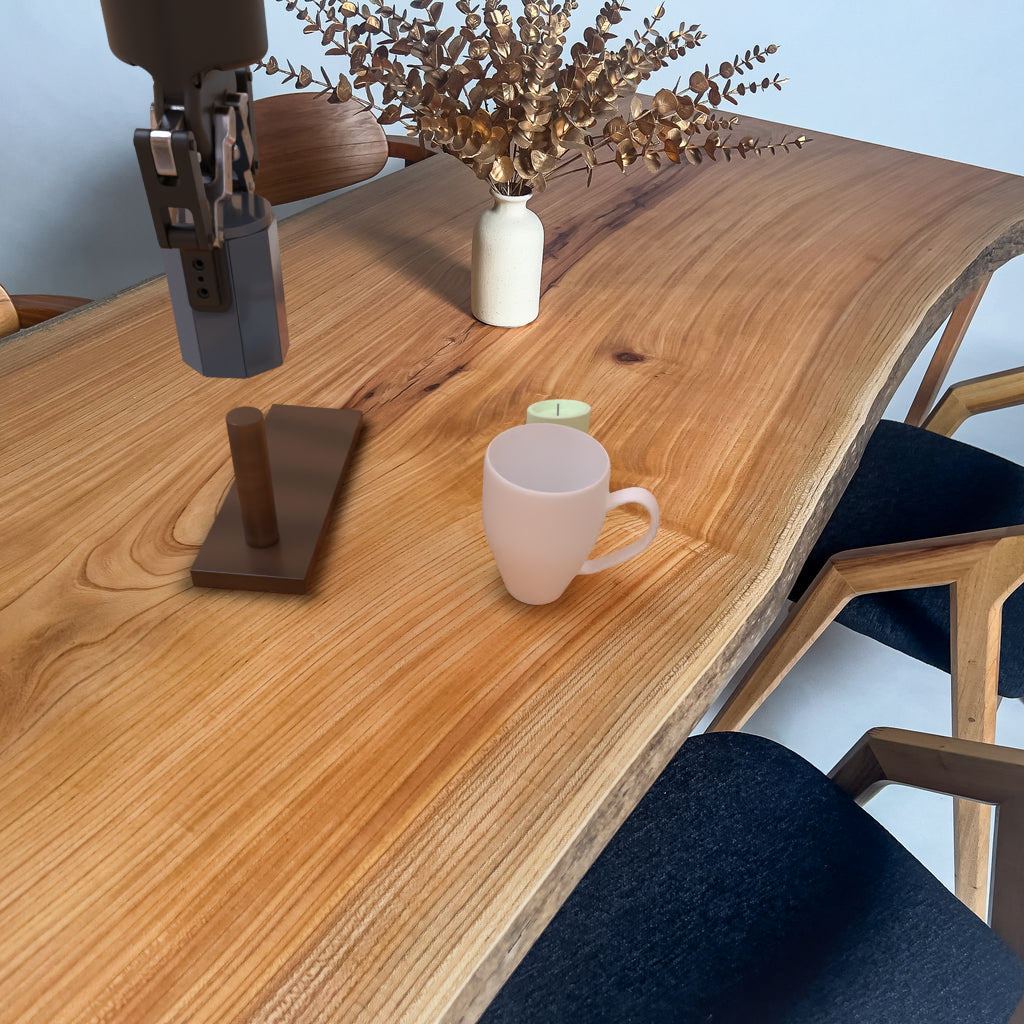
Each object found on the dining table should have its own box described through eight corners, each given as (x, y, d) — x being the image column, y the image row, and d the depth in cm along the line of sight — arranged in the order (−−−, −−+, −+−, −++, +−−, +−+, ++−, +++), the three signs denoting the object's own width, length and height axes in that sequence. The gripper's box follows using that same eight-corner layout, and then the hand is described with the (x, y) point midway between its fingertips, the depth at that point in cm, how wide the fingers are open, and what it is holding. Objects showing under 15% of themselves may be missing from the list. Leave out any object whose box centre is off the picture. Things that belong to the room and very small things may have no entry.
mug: (464, 611, 63) (469, 480, 56) (494, 538, 70) (502, 412, 62) (634, 648, 61) (661, 518, 54) (648, 569, 68) (675, 443, 61)
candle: (512, 472, 77) (518, 388, 71) (567, 463, 78) (576, 380, 73) (533, 507, 73) (542, 421, 68) (590, 497, 74) (602, 412, 69)
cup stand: (306, 595, 64) (290, 455, 56) (192, 586, 64) (161, 444, 56) (363, 424, 81) (356, 300, 73) (274, 417, 81) (258, 292, 73)
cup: (220, 389, 52) (195, 238, 47) (166, 350, 55) (137, 204, 50) (307, 356, 56) (293, 212, 50) (251, 321, 59) (233, 182, 53)
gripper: (140, -78, 48) (192, 232, 58) (31, -36, 36) (120, 340, 47) (285, -69, 48) (311, 238, 58) (220, -24, 37) (266, 346, 47)
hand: (225, 282), depth 53 cm, fingers closed on cup, 6 cm apart
